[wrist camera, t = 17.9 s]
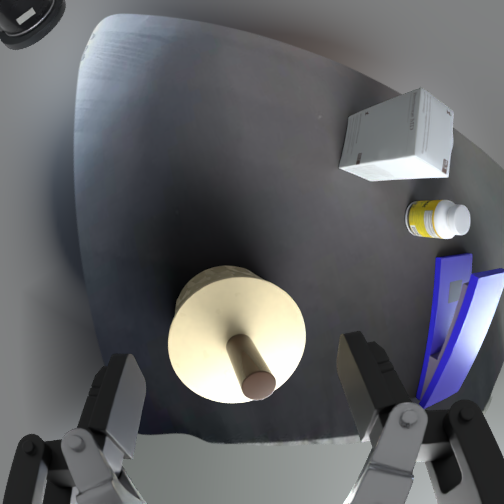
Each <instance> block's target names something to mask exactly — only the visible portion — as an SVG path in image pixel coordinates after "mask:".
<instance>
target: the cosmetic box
mask: <svg viewBox="0 0 504 504" xmlns="http://www.w3.org/2000/svg"><path fill="white" fill-rule="evenodd" d="M453 114H454V113H453V111H452V110H451V109H450V108H449V107H447V106H446V105H445V104H443V103H442V102H441V101H439V100H438V99H437V98H435V97H434V96H433V95H431V94H430V93H429V92H428V91H426V90H425V89H423V88H422V87H421V88H419V89H416V90H413V91H411V92H408V93H405V94H402V95H400V96H397V97H395V98H392V99H389V100H387V101H384V102H382V103H379V104H377V105H374V106H372V107H370V108H367V109H365V110H362V111H360V112H358V113H355V114H353V115H351V116H349V117H348V126H347V132H346V138H345V143H344V148H343V152H342V156H341V160H340V163H339V168H340V169H342V170H345V171H347V172H350V173H352V174H355V175H357V176H360V177H362V178H364V179H367V180H369V181H383V180H399V179H416V178H440V177H448V176H449V167H450V157H451V151H452V147H453Z"/></svg>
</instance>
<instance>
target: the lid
mask: <svg viewBox="0 0 504 504" xmlns="http://www.w3.org/2000/svg"><path fill="white" fill-rule="evenodd" d="M305 335H306V333H305V325H304V320H303V317H302V314H301V312H300V310H299V308H298V306H297V305H296V303H295V302H294V301H293V299H292V298H291V297H290V296H289V295H288V294H287V293H286V292H285V291H284V290H282V289H281V288H279V287H278V286H276V285H275V284H273V283H271V282H269V281H266V280H263V279H260V278H256V277H251V276H231V277H226V278H221V279H218V280H215V281H212V282H210V283H208V284H206V285H204V286H202V287H201V288H199V289H198V290H196V291H195V292H194V293H192V294H191V295H190V296H189V297H188V298H187V299H186V300H185V301H184V302H183V303H182V305H181V306H180V307H179V309H178V310H177V312H176V314H175V316H174V318H173V320H172V323H171V326H170V330H169V336H168V351H169V357H170V361H171V364H172V366H173V368H174V370H175V372H176V374H177V375H178V377H179V378H180V379H181V381H182V382H183V383H184V384H185V385H186V386H187V387H188V388H190V389H191V390H192V391H194V392H195V393H197V394H199V395H201V396H203V397H205V398H207V399H210V400H213V401H218V402H224V403H241V402H247V401H251V400H262V399H265V398H267V397H268V396H270V395H271V394H272V393H273V391H274V390H275V389H277V388H278V387H279V386H281V385H282V384H283V383H284V382H285V381H286V380H287V379H288V378H289V377H290V376H291V374H292V373H293V372H294V370H295V369H296V367H297V365H298V364H299V361H300V359H301V357H302V354H303V351H304V346H305Z"/></svg>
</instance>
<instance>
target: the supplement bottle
mask: <svg viewBox="0 0 504 504" xmlns="http://www.w3.org/2000/svg"><path fill="white" fill-rule="evenodd" d="M405 222H406V226H407V228H408V230H409V231H410V233H411V234H413V235H415V236H422V237H432V238H442V239H450V238H452V237H454V236H455V235H464V234H466V233H467V232H468V230H469V227H470V213H469V211H468V209H467V207H466V206H464V205H455V204H454V203H453V202H452V201H449V200H427V201H415V202H412V203H411V204H410V205H409V206H408V208H407V210H406V214H405Z"/></svg>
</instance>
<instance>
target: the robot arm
mask: <svg viewBox="0 0 504 504" xmlns="http://www.w3.org/2000/svg"><path fill="white" fill-rule="evenodd" d="M54 6H55V0H0V31H1V32H2V33H6V34H7V35H8V36H9V37H11V38H17V37H21V36H24V35H26V34H28V33H30V32H31V31H33V30H34V29H36V28H37V27H38V26H40V25H41V24H42V23H43V22H44V21H45V20H46V19H47V18H48V17H49V15H50V14H51V12H52V11H53V9H54ZM337 372H338V376H339V379H340V381H341V384H342V387H343V390H344V393H345V396H346V399H347V401H348V404H349V407H350V410H351V413H352V416H353V419H354V422H355V425H356V428H357V431H358V434H359V437H360V440H361V442H365V441H369V440H370V441H371V444H372V449H371V452H370V454H369V456H368V458H367V460H366V463H365V465H364V467H363V469H362V471H361V473H360V475H359V477H358V479H357V481H356V483H355V485H354V487H353V489H352V491H351V492H350V494H349V496H348V497H347V499H346V501H345V502H344V504H405V501H406V499H407V496H408V494H409V491H410V489H411V486H412V483H413V479H414V476H413V475H412V472H413V469H414V465H415V463H416V462H425V464H426V467H427V470H428V473H429V477H430V480H431V483H432V486H433V489H434V493H435V496H436V499H437V503H438V504H504V458H503V456H502V453H501V451H500V449H499V446H498V444H497V442H496V440H495V438H494V436H493V434H492V431H491V429H490V427H489V425H488V423H487V421H486V419H485V417H484V415H483V413H482V411H481V409H480V408H479V406H478V405H477V404H476V403H474V402H472V401H470V400H460V401H457V402H455V403H454V404H453V405H452V406H451V408H450V409H449V410H433V411H429V410H424V409H423V408H422V407H421V406H419V405H418V404H415V403H412V401H411V400H410V398H409V396H408V394H407V392H406V390H405V389H404V387H403V385H402V383H401V381H400V379H399V377H398V375H397V373H396V371H395V370H394V367H393V365H392V363H391V362H390V361H389V358H388V356H387V354H386V352H385V350H384V349H383V348H382V347H380V346H379V345H378V344H377V343H376V342H369V343H367V342H366V340H365V338H364V336H363V334H362V333H361V331H356V332H351V333H346V334H341V335H340V340H339V348H338V355H337ZM145 394H146V383H145V379H144V377H143V375H142V373H141V371H140V369H139V367H138V365H137V363H136V360H135V358H134V356H133V355H132V354H113V355H112V356H111V359H110V362H109V364H108V367H107V366H103V367H102V368H101V370H100V371H99V372H98V373H97V374H96V375H95V378H94V380H93V383H92V388H91V389H90V391H89V396H88V397H87V400H86V403H85V406H84V409H83V412H82V415H81V418H80V421H79V424H78V426H77V428H75V429H72V430H70V431H68V432H67V433H66V434H65V435H64V437H63V439H61V440H54V441H46V442H44V441H43V440H42V439H41V438H40V437H39V436H37V435H35V434H29V435H26V436H24V437H23V438H22V439H21V440H20V442H19V443H18V446H17V449H16V453H15V456H14V460H13V463H12V467H11V470H10V474H9V478H8V482H7V486H6V490H5V495H4V499H3V504H147V503H146V502H145V500H144V499H143V498H142V496H141V495H140V493H139V492H138V490H137V488H136V487H135V485H134V484H133V482H132V481H131V479H130V478H129V476H128V474H127V473H126V471H125V469H124V468H123V466H122V462H123V459H133V456H134V450H135V444H136V439H137V434H138V428H139V423H140V418H141V413H142V408H143V403H144V398H145ZM46 480H47V484H46V489H45V495H44V500H43V503H42V498H43V492H44V487H45V482H46Z"/></svg>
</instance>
